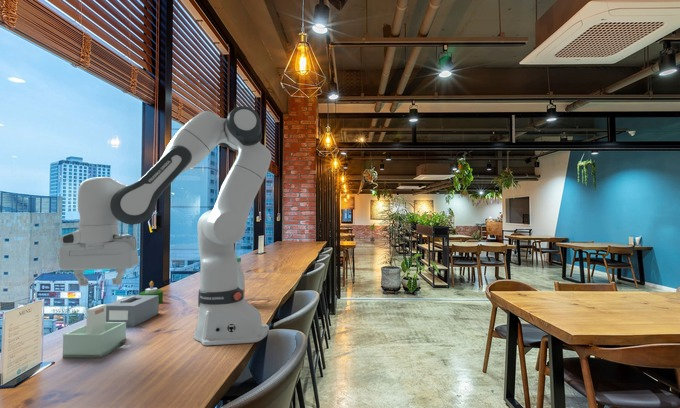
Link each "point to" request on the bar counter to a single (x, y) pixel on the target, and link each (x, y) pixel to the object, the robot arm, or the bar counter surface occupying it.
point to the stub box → (93, 341)
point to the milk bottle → (240, 276)
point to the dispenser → (132, 309)
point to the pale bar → (96, 319)
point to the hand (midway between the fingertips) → (100, 285)
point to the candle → (153, 292)
